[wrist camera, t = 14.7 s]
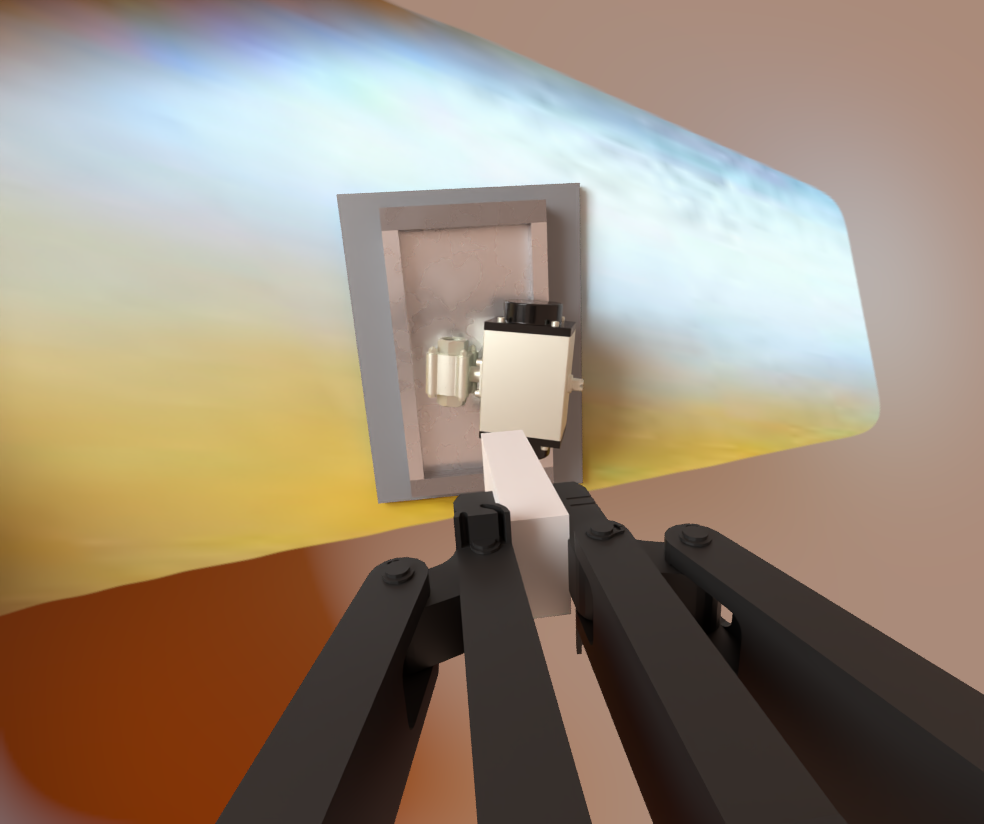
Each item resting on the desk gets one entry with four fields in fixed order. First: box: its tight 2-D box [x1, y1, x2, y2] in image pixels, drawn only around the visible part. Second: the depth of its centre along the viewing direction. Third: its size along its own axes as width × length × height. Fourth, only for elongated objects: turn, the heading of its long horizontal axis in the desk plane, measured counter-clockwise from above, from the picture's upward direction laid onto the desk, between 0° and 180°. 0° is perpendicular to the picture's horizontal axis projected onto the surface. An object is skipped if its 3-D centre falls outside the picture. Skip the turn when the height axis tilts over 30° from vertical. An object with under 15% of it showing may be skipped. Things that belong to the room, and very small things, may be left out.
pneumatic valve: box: [426, 299, 584, 460], centre depth 39 cm, size 6×12×12 cm
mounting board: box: [337, 183, 583, 503], centre depth 43 cm, size 19×26×1 cm
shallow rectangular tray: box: [379, 199, 554, 498], centre depth 41 cm, size 12×23×2 cm, turn 3°
